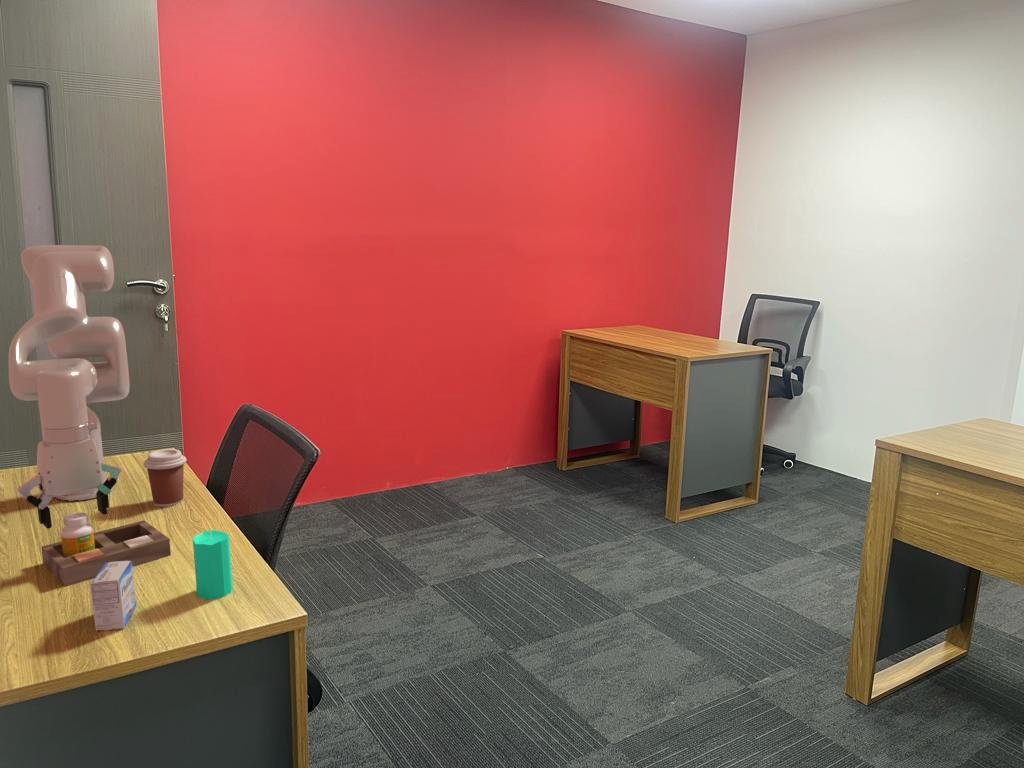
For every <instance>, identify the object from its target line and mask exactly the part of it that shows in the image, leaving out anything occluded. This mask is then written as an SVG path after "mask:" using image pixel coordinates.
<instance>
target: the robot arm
mask: <svg viewBox="0 0 1024 768" xmlns="http://www.w3.org/2000/svg"><path fill="white" fill-rule="evenodd" d="M20 260H21V261H20V262H21V265H22V268H23V271H24V273H25V274H26V277H27V278H28V279H29V281H30V283H31V284H32V290H33V311H34V313H33V316H32V317H31V318H30V319H28V320H27V321H26V322H25V323H24V324H23V325H22V326H21V327H20V328H19V329H18V331H17V332H16V333H15V334H14V336H13V338H12V340H11V342H10V345H9V349H8V382H9V387H10V390H11V393H12V395H13V396H14V397H15V398H17V399H18V400H20V401H25V402H27V401H28V402H29V401H38V410H39V417H40V425H41V434H42V441H39V442H38V443H37V452H36V475H35V476H34V477H32V478H31V479H29V480H28V481H26V482H25V483H23V484H22V485H20V486H18V488H17V492H19V494H20V495H21V496H22V498H23V499H24V500H25V501H26V502H27V503H29V504H31V505H33V506H34V507H36V508H37V515H38V521H39V524H40V525H43V526H44V528H46V529H47V530H49V529H51V528H52V527H53V526H52V518H51V510H50V508H49V506H48V504H49V503H50V501H52V499H53V497H54V498H55V497H56V498H55V499H57V498H58V499H57V500H59V499H61V500H60V501H64V500H68V501H67V502H75V501H74V500H79V501H85V500H86V499H87V500H91V499H96V504H97V505H96V506H97V511H98V512H99V513H100V514H102V515H104V516H105V515H108V509H110V502H109V501H110V500H109V494H110V493H111V492H112V491H113V490H114V486H115V485H116V484H117V482H118V478H119V476H120V474H121V472H122V471H121V470H122V469H121V468H119V467H118V466H115V465H111V464H106V463H105V462H104V451H103V440H102V432H101V422H100V419H99V417H98V415H97V414H96V413H95V412H94V411H93V410H92V409H91V408H90V407H88V406H87V404H92V403H102V402H113V401H121V400H123V399H124V400H125V398H127V397H128V396H129V393H130V386H131V385H130V373H129V362H128V353H127V344H126V336H125V330H124V327H123V325H122V323H121V321H120V320H119V319H117V317H116V318H115V317H112V316H89V315H88V314H87V307H86V298H85V294H84V293H90V292H91V293H92V292H93V293H97V292H108V291H109V290H111V289H112V288H113V286H114V281H115V269H114V268H115V266H114V259H113V255H112V253H111V252H110V250H109V249H108V248H107V247H106V246H103V245H86V244H85V245H82V244H81V245H80V244H79V245H78V244H77V245H73V244H71V245H70V244H69V245H67V244H52V245H51V244H47V245H46V244H45V245H44V244H43V245H36V246H35V245H34V246H30V247H27V248H25V249H23V250H22V251H21V255H20ZM44 343H47V347H48V351H49V353H50V354H51V355H52V356H53V357H54V358H55V359H39V360H38V359H37V360H27V358H28V356H29V355H30V353H32V351H34V349H36V348H37V347H39V346H41V345H42V344H44ZM90 358H91V359H92V358H95V359H96V358H102V359H105V361H92V362H91V361H90V360H87V359H90ZM106 472H107V473H109V477H107V478H106ZM36 487H38V489H39V491H41V492H40V493H39V494H38V496H37V497H36V496H34V495H33V494H32V493H31V491H32V490H33V489H34V488H36ZM96 497H97V498H96Z"/></svg>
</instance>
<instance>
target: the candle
mask: <svg viewBox="0 0 1024 768" xmlns="http://www.w3.org/2000/svg"><path fill="white" fill-rule="evenodd" d="M230 541H231V540H230V535H229V534H228V533H227V532H224V531H221V530H215V529H212V528H209V530H206V531H202V532H200V533H198V534H195V535H194V537H193V539H192V548H193V561H194V571H195V585H196V595H197V596H198V598H200V599H204V600H217V599H221V598H223V597H226V596H227V594H228V595H229V594H230V593H232V591H233V588H234V587H233V574H232V573H233V572H232V559H231V543H230Z"/></svg>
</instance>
